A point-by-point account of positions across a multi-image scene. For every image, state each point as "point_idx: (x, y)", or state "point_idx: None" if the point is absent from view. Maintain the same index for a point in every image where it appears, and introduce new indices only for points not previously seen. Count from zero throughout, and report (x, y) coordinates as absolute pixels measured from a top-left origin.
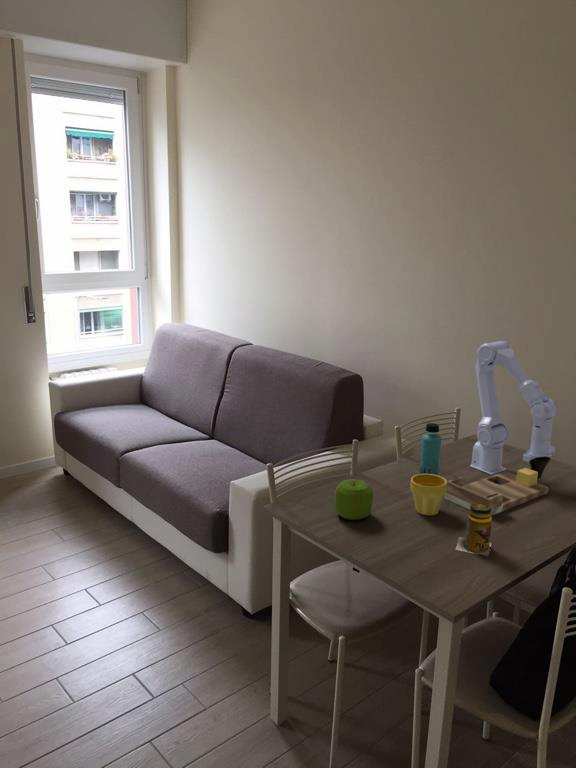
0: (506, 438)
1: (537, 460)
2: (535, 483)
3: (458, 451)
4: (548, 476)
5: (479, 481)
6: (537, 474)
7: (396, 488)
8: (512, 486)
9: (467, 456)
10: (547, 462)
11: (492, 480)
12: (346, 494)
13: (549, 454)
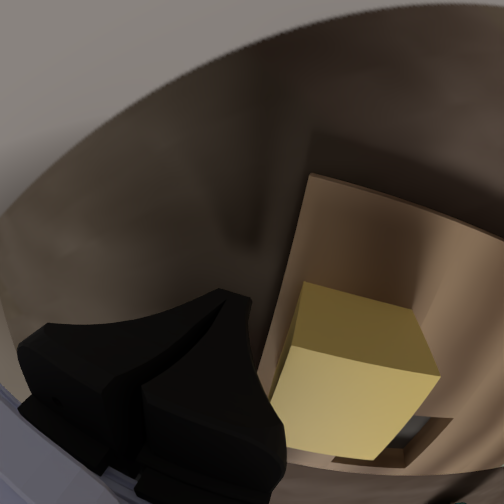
0: None
1: (262, 489)
2: (321, 289)
3: None
4: (77, 265)
5: (435, 469)
6: (302, 330)
7: (490, 500)
8: (447, 379)
9: None
10: (96, 336)
11: None
12: None
13: (10, 487)
